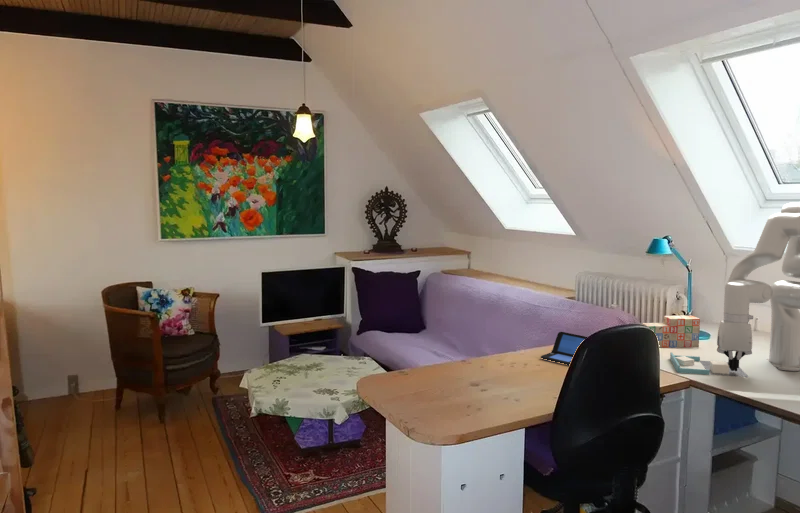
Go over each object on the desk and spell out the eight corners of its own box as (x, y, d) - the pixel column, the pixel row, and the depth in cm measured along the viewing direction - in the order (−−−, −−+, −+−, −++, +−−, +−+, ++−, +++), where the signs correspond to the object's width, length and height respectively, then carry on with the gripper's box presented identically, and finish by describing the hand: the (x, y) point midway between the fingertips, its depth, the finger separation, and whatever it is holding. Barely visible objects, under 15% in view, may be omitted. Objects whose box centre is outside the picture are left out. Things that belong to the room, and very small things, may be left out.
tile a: (694, 367, 213) (694, 359, 213) (683, 368, 212) (684, 360, 212) (683, 363, 218) (684, 356, 218) (673, 365, 217) (674, 357, 217)
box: (699, 364, 218) (699, 354, 218) (709, 378, 202) (709, 367, 201) (670, 362, 221) (670, 352, 220) (677, 376, 205) (677, 365, 204)
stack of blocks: (647, 348, 242) (647, 319, 241) (641, 344, 248) (641, 315, 247) (699, 347, 242) (700, 318, 240) (691, 343, 248) (693, 315, 246)
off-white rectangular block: (725, 369, 206) (725, 361, 206) (728, 373, 202) (729, 365, 202) (709, 368, 208) (710, 360, 207) (712, 372, 203) (712, 364, 203)
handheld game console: (539, 360, 229) (539, 336, 228) (558, 353, 238) (558, 330, 237) (575, 368, 217) (575, 344, 216) (593, 360, 226) (594, 337, 225)
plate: (735, 366, 215) (735, 362, 214) (748, 381, 198) (748, 376, 198) (699, 364, 218) (699, 360, 218) (709, 378, 202) (709, 374, 202)
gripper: (757, 316, 203) (754, 368, 205) (709, 314, 207) (707, 365, 209) (763, 321, 196) (761, 374, 198) (714, 319, 200) (712, 371, 202)
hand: (733, 369), depth 203 cm, fingers closed
